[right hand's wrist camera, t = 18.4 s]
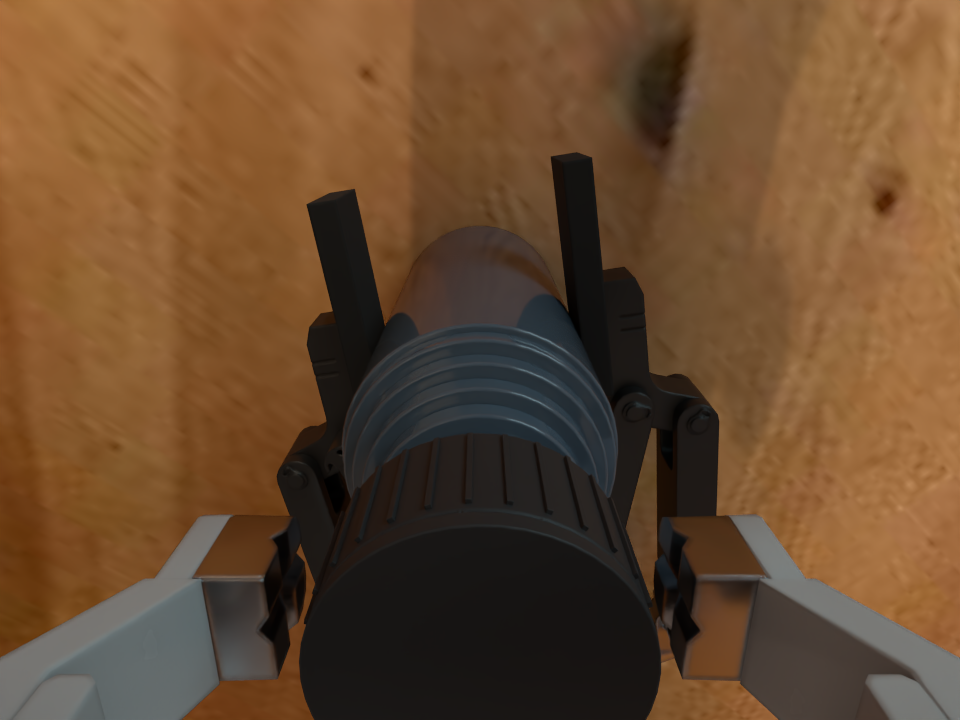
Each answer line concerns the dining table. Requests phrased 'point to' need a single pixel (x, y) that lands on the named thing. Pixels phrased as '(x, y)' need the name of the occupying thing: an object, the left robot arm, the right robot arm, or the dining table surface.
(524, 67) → the dining table surface
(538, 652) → the cap
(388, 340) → the bottle
